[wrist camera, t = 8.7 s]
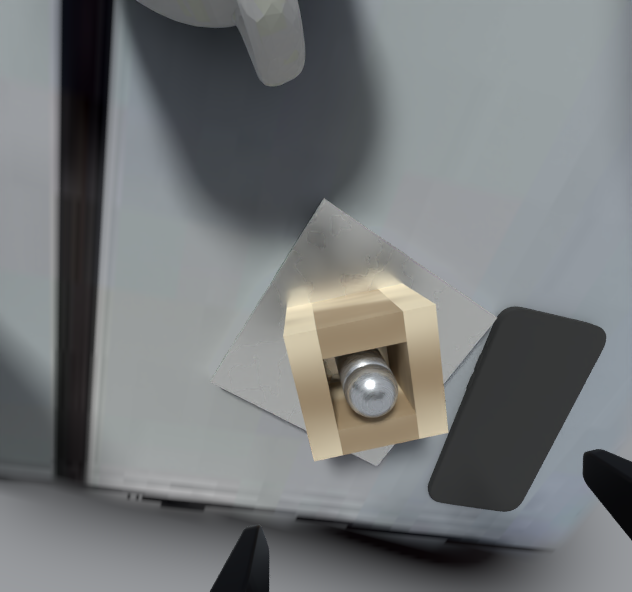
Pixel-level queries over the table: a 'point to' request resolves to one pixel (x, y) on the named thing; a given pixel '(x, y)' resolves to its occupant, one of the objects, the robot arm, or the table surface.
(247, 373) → the stand
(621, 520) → the robot arm
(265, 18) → the teacup
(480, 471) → the phone
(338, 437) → the collar
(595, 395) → the table surface
